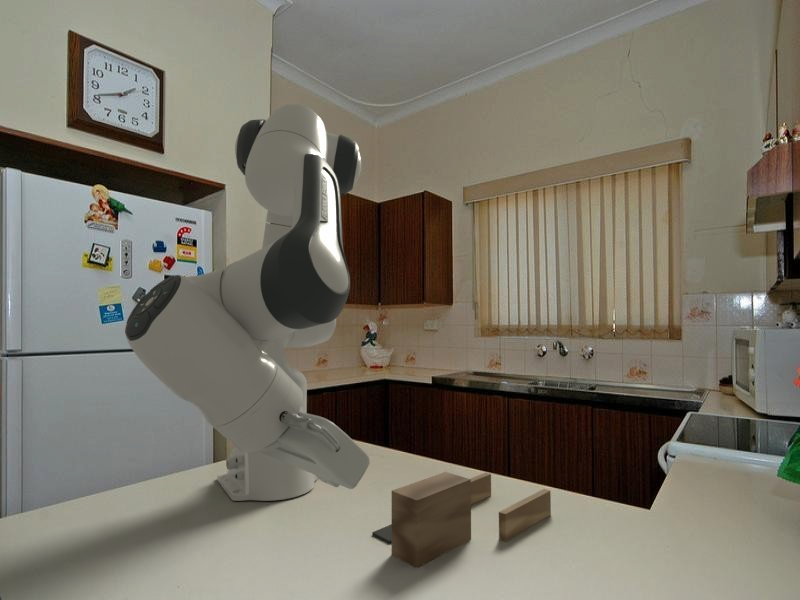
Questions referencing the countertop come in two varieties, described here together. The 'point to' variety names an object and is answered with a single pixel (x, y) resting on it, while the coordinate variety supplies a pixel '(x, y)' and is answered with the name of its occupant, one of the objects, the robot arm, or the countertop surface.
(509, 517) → the channel
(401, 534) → the walnut block
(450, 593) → the countertop surface
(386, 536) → the mat
